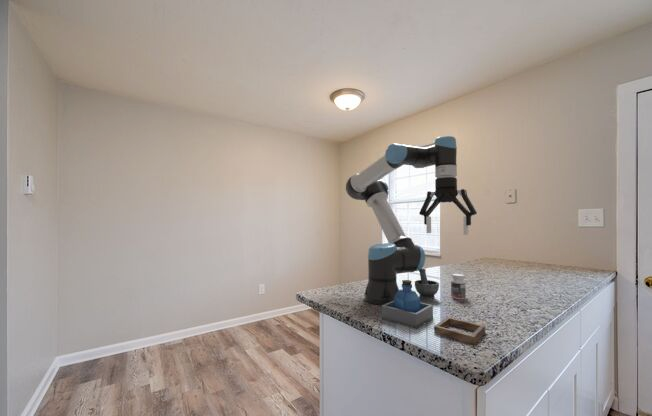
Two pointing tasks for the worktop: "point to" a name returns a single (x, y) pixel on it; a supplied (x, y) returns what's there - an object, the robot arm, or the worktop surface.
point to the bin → (407, 315)
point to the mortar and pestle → (426, 287)
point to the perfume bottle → (407, 298)
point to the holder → (468, 338)
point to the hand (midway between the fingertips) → (446, 233)
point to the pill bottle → (458, 286)
